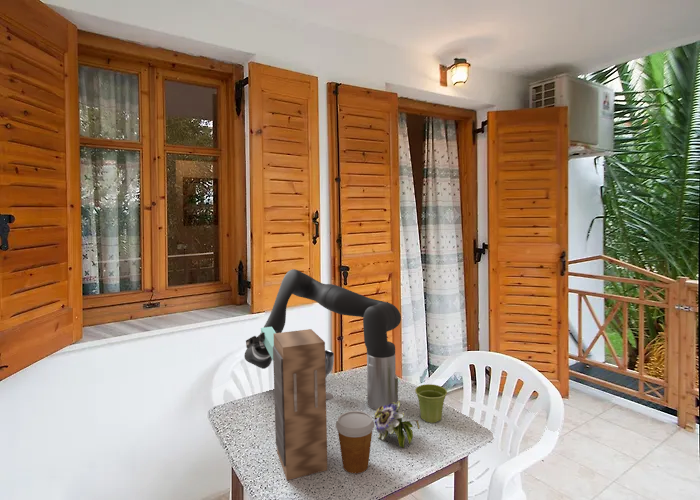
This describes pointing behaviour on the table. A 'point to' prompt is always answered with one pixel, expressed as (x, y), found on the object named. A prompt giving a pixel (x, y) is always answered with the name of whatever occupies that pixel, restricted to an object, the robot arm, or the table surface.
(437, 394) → the plant pot
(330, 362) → the wine glass
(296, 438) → the tall wooden pillar block
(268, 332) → the rail
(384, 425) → the passion flower
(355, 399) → the table surface
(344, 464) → the disposable coffee cup
